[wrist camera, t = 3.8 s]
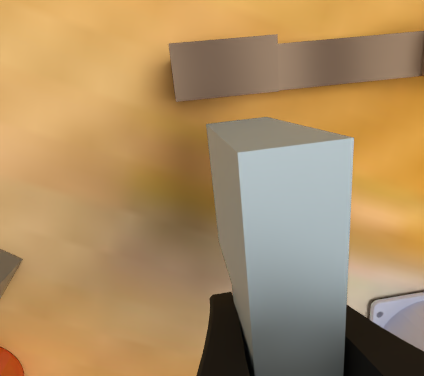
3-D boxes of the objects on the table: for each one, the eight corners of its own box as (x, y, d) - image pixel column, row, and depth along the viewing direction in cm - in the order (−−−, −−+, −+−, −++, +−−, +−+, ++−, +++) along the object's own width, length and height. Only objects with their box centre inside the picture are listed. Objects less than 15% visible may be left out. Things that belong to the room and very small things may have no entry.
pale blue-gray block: (279, 387, 13) (335, 546, 9) (235, 396, 13) (269, 562, 9) (266, 117, 10) (353, 137, 5) (206, 124, 10) (237, 152, 5)
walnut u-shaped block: (455, 34, 17) (566, 9, 12) (450, 72, 17) (554, 63, 13) (170, 60, 15) (168, 43, 11) (175, 100, 16) (176, 101, 11)
